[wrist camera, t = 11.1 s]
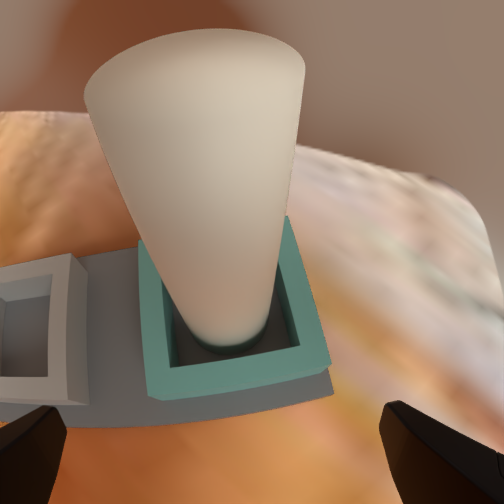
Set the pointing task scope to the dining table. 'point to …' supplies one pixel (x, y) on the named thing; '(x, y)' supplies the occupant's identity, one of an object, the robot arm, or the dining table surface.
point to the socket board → (146, 345)
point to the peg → (205, 167)
